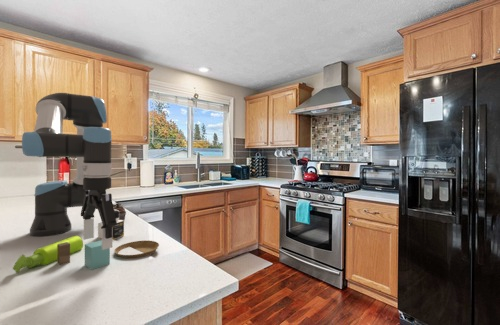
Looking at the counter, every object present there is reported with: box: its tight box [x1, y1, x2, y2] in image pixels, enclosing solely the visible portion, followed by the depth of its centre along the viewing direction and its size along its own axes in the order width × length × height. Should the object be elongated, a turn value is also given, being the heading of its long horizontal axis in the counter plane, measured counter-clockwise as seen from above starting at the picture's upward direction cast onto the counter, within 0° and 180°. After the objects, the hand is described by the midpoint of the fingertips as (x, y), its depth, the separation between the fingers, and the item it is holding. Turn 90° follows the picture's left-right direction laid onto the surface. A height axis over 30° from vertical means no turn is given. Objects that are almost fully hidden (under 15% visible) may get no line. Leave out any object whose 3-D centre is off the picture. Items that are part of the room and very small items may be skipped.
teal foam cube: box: [84, 239, 111, 270], centre depth 77 cm, size 5×5×7 cm
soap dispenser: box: [12, 235, 84, 273], centre depth 80 cm, size 6×7×20 cm
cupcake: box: [112, 202, 127, 221], centre depth 133 cm, size 10×10×10 cm
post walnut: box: [56, 242, 71, 266], centre depth 78 cm, size 3×3×7 cm
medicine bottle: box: [97, 210, 125, 241], centre depth 106 cm, size 7×7×12 cm
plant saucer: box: [114, 240, 160, 259], centre depth 89 cm, size 15×15×3 cm
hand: (97, 243), depth 77 cm, fingers open, 13 cm apart
